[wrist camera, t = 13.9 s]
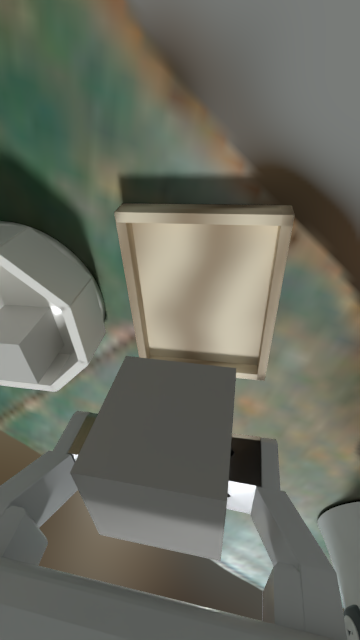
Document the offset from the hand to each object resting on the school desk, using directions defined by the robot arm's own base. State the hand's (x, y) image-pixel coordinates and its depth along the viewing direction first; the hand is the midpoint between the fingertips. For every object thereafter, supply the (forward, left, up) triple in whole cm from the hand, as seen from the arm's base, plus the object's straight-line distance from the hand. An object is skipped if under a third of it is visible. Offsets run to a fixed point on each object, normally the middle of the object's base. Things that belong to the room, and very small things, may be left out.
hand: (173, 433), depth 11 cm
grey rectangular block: (0, 0, -2) cm, 2 cm away
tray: (0, +2, -13) cm, 13 cm away
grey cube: (+14, +6, -12) cm, 20 cm away
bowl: (+14, +3, -13) cm, 19 cm away
